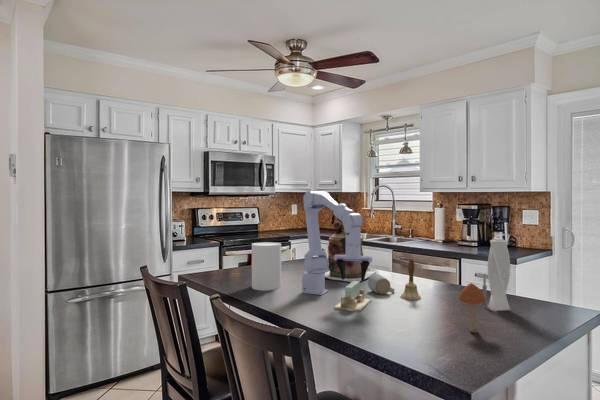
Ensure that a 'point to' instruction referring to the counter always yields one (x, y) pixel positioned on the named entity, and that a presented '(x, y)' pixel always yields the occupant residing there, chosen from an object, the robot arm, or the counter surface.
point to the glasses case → (352, 289)
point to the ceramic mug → (379, 284)
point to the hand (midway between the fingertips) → (353, 279)
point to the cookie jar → (339, 248)
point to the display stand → (353, 303)
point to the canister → (266, 266)
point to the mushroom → (472, 303)
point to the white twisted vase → (497, 275)
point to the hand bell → (411, 285)
